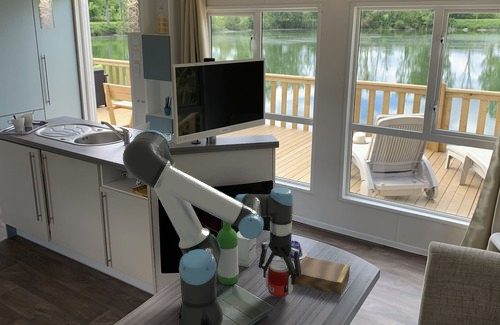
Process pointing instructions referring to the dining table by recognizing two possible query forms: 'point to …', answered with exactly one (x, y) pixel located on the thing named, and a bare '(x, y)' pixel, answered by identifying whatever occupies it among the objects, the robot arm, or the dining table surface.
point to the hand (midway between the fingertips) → (279, 288)
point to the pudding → (297, 246)
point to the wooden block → (323, 275)
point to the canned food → (278, 278)
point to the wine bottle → (228, 255)
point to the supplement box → (246, 250)
